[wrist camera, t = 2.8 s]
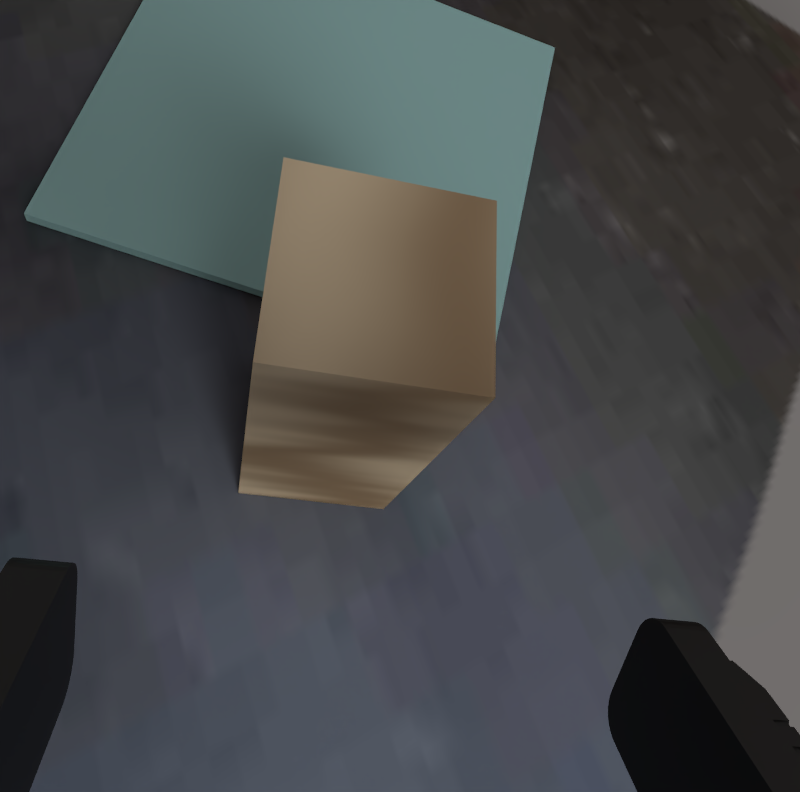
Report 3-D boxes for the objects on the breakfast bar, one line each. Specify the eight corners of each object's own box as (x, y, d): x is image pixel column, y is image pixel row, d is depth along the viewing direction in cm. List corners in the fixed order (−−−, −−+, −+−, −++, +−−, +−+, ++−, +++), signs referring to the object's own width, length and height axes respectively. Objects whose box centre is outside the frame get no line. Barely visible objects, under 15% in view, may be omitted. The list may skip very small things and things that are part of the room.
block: (238, 492, 22) (252, 362, 12) (257, 358, 23) (283, 157, 14) (383, 508, 22) (495, 397, 13) (392, 378, 24) (496, 200, 15)
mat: (26, 220, 23) (23, 213, 23) (195, -84, 29) (195, -93, 29) (486, 370, 25) (491, 366, 25) (550, 54, 31) (554, 47, 31)
